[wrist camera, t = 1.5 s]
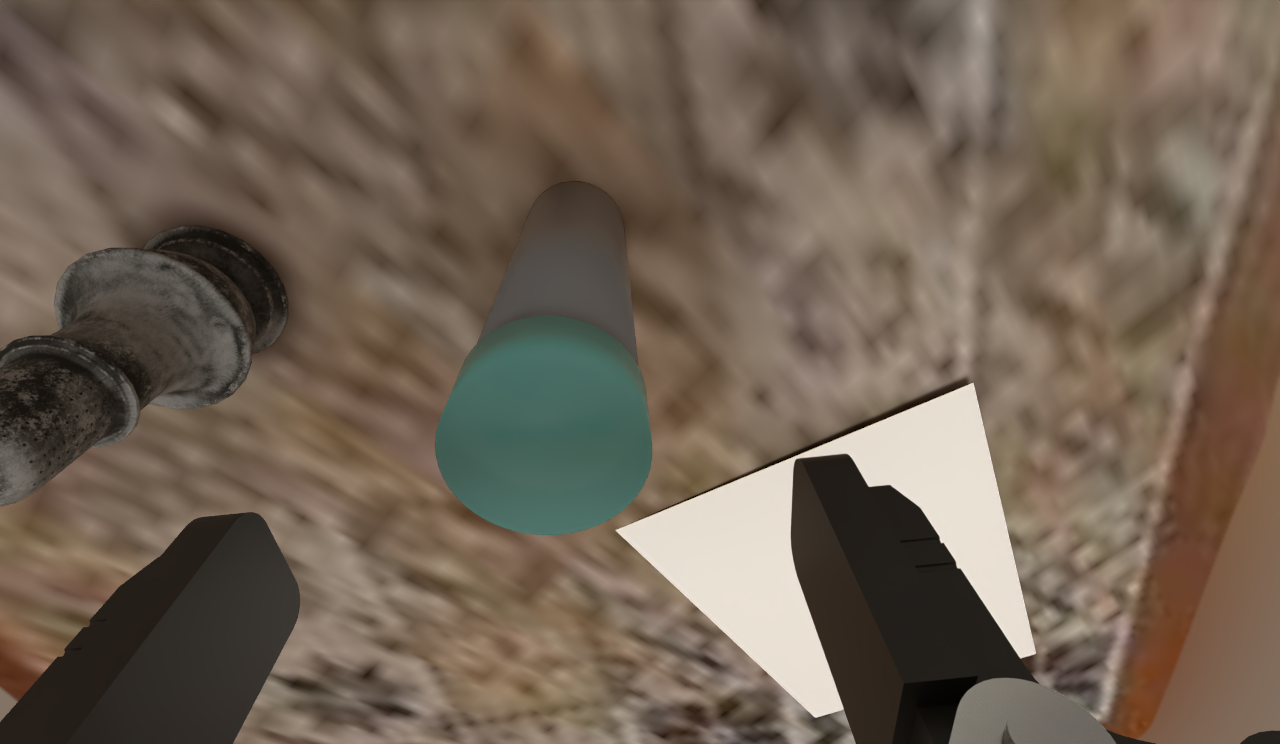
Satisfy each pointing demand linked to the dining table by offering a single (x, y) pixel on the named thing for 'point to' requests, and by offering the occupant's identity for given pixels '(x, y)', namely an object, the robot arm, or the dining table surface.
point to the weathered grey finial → (133, 347)
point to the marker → (553, 379)
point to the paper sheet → (761, 539)
